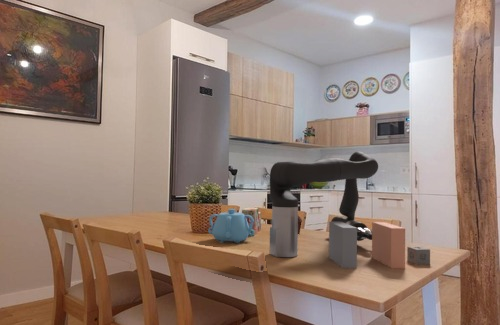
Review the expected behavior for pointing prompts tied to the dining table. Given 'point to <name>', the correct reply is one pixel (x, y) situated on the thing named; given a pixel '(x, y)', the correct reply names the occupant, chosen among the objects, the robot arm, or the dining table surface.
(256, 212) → the stack of blocks
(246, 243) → the dining table surface
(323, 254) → the dining table surface
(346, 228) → the slate slab
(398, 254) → the terracotta slab
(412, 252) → the dice cube
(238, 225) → the decorative pot
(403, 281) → the dining table surface
